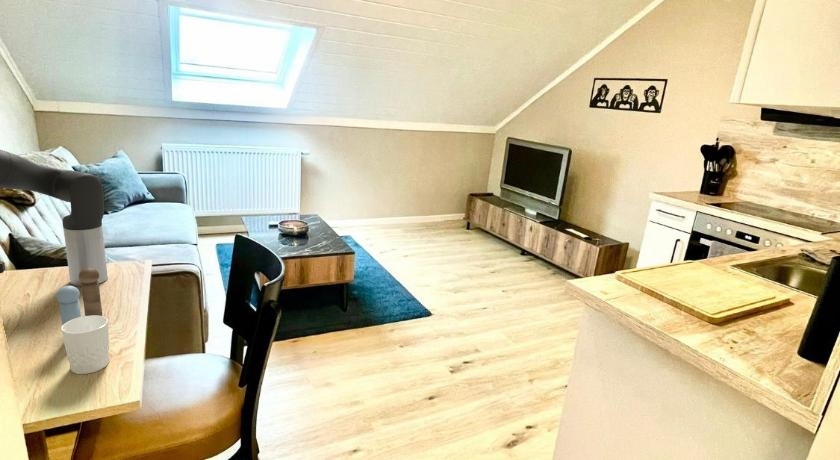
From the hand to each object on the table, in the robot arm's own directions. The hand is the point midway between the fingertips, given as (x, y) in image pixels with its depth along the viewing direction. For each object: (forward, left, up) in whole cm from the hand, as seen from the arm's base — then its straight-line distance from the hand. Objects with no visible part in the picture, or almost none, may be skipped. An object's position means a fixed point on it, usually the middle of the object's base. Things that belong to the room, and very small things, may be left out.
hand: (3, 266), depth 94 cm
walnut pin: (-11, +13, -20) cm, 26 cm away
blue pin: (0, +10, -20) cm, 22 cm away
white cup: (+13, +14, -20) cm, 28 cm away
